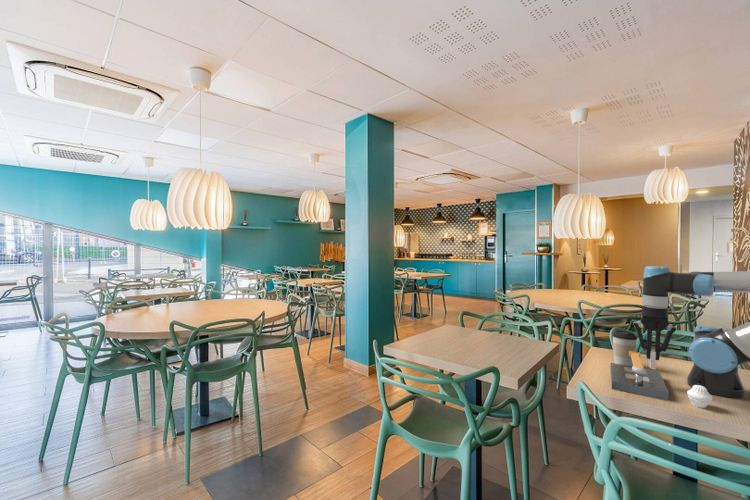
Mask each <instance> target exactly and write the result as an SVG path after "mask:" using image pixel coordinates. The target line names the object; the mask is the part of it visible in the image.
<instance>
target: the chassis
mask: <svg viewBox="0 0 750 500" xmlns="http://www.w3.org/2000/svg"><path fill="white" fill-rule="evenodd" d="M610 380H611V381H610V382H611V390H615V391H620V392H625V393H630V394H634V393H635V394H636V395H640V396H645V397H650V398H655V399H659V400H664V401H669V393H670V392H669V390H668V387H667V385H666V382H665V381H664V379H663V377H662V374H661V372H660V370H656V369H651V368H646V374H638V373H634V372H633V371H632V366H627V365H621V364H615V363H614V362H610ZM635 394H634V395H635Z"/></svg>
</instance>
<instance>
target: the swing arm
mask: <svg viewBox="0 0 750 500" xmlns="http://www.w3.org/2000/svg"><path fill="white" fill-rule="evenodd" d="M629 357H631V359H632V362H633V366H632V371H633V372H634V373H638V374H646V369H647V368H645V367H644V366H643V363H642V359H641V353H640V352H639V351H635V352H632V351H629Z"/></svg>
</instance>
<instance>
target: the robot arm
mask: <svg viewBox="0 0 750 500" xmlns="http://www.w3.org/2000/svg"><path fill="white" fill-rule="evenodd" d="M642 284H643V285H642V305H643V306H641V309H642V310H641V317H640V319H639V320H638V321H633V322H632V323H633V326H634V327H635V329H636V332H637V336H638V337H637V338H638V340H639V344H640V347H641V348H642V349H643V350H646V355H645V356H646V360H647V359H648V360H649V365H648V367H649V369H651V370H656V361H660V353H661V352H666V351H667V349H668V347H669V344H670V341H671V339H672V336H673V334H674V333H675V332H676V331H677V328H676V327H675V326H674V325H671V324H670V322H669V320H668V315H669V314H668V308H667V307H668V306H669V293H672V294H674V293H675V294H681V295H682V294H683V295H692V296H697V297H698V296H699V297H701V296H704V297H705V296H706V297H710V296H713V295H714V293H745V294H746V293H750V271H745V270H744V271H739V270H738V271H690V272H686V273H685V272H672V271H671V270H670V267H668V266H660V265H648V266H645V267H644V270H643V277H642ZM642 325H643V327H644V328H645V329H646V344H645V341H644V337H643V333H642V330H641V327H642ZM665 328H666V329H667V331H666V334H665V337H664V340H663V342H662V345H661V334H662V331H663V330H664V329H665ZM654 331H655V339H654V340H655V341H654V342H655V343H654V345H655V346H654V349H652V339H653V338H652V335H653V332H654ZM693 333H694V339H693V340H692V342H691V343H690V344H689V347H688V355H689V357H690V360H691V361H692V362H693V366H692V367H691V369H690V371H689V374H688V375H687V378H686V383H687V385H688V386H689V387H691V388H692V387H693V386H694V385H700V386H703V387H705V388H706V389H707V392H708V393H709V394H710V395H714V396H719V397H725V398H736V399H737V398H743V397H745V388H744V385H743V382H742V379H741V377H740V375H739V372H738V371H739V366H741V365H743V364H745V363H748V362H750V321H749V322H747V323H744V324H741V325H739V326H736V327H733V328H730V327H726V326H725V327H723V326H722V327H721V328H720V327H715V326H714V327H713V326H712V327H711V326H706V325H705V326H704V325H696V327H695V328H694V332H693Z"/></svg>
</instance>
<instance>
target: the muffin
mask: <svg viewBox="0 0 750 500" xmlns="http://www.w3.org/2000/svg"><path fill="white" fill-rule="evenodd" d="M686 393H687V394H686V395H687V397H688V399H689V401H690V402H691V404H692V405H693V406H694V407H696V408H701V409H705V408H707V407H708V406H709V405H710V404H711V402H712V400H713V396H712V394H710V393H708V392H707V389H706V388H705V387H703V386H700V385H694V386H693V387H691V389H689V390H687V391H686Z"/></svg>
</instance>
